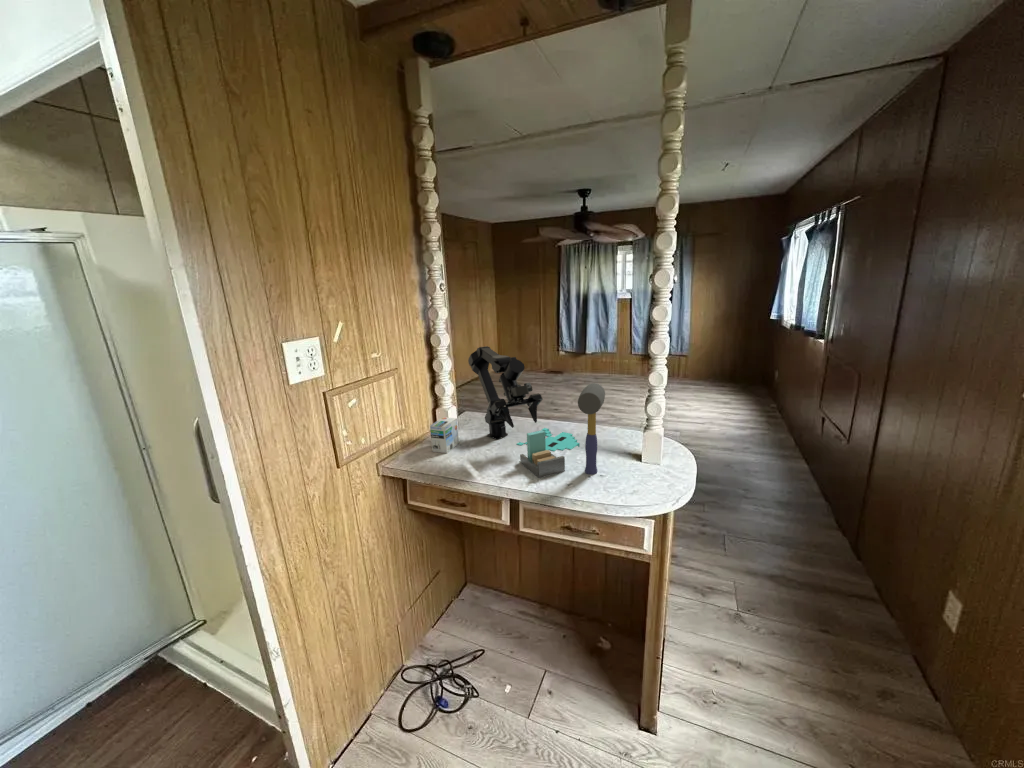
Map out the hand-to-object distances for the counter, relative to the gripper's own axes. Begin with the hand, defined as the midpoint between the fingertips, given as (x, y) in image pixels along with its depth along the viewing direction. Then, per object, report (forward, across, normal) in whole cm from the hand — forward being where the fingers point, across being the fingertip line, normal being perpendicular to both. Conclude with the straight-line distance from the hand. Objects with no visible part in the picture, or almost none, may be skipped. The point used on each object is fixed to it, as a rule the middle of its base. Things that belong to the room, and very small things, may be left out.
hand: (524, 424), depth 139 cm
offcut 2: (+18, 0, -4) cm, 18 cm away
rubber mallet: (+25, +12, -9) cm, 29 cm away
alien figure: (+7, +14, +13) cm, 20 cm away
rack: (+17, 0, 0) cm, 17 cm away
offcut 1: (+16, 0, -1) cm, 16 cm away
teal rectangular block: (+14, 0, +1) cm, 14 cm away
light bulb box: (-7, -23, +27) cm, 36 cm away
